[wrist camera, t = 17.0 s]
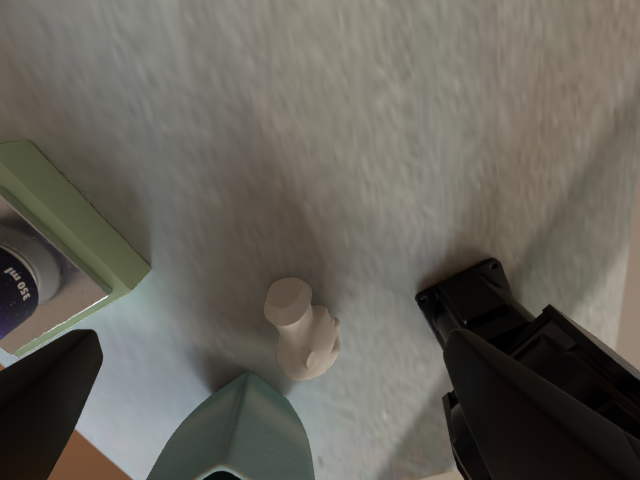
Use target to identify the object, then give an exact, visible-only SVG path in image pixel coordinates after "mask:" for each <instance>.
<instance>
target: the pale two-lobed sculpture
mask: <svg viewBox="0 0 640 480" xmlns="http://www.w3.org/2000/svg"><path fill="white" fill-rule="evenodd" d="M311 299H312V289H311V287H310V286H309V285H308V284H307V283H305V282H304V281H302V280H300V279H298V278H295V277H287V278H282V279H279V280H277V281H276V282H274V283H273V284H272V285H271V286H270V288H269V291H268V295H267V299H266V303H265V308H264V312H265V316H266V318H267V319H268V320H269V321H270V322H271V323H273V324H274V325H275V326H276V327H277V329H278V331H279V334H280V339H279V342H278V346H277V362H278V365H279V367H280V369H281V370H282V372H283V373H284V374H285V375H286V376H288V377H289V378H291V379H293V380H297V381H307V380H311V379H314V378H316V377H318V376H320V375H321V374H323V373H324V372H325V371H327V370H328V369H329V368H330V367H331V366H332V364H333V363H334V362H335V360H336V358H337V356H338V354H339V350H340V341H339V337H338V334H339V328H340V321H339V319H338V318H336V317H333V316H332V315H331V314H329V313H328V310H327V308H326V307H325V306H323V305H314V306H311V303H310V302H311Z"/></svg>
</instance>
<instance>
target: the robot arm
mask: <svg viewBox="0 0 640 480" xmlns="http://www.w3.org/2000/svg"><path fill="white" fill-rule="evenodd" d="M492 264H494V265H493V266H492V267H491V265H492ZM421 298H424V299H423V300H420V299H421ZM415 300H416V302H417V304H418V306H419V308H420V310H421V311H422V313H423V315H424V317H425V319H426V320H427V322H428V324H429V326H430V328H431V330H432V331H433V333H434V335H435V337H436V339H437V341H438V342H439V344H440V346H441V348H442V350H443V359H444V362H445V365H446V368H447V371H448V373H449V376H450V379H451V382H452V385H453V388H454V390H453V391H451V392H448V393H446V394H445V395H444V396H443V397H442V401H443V406H444V411H445V416H446V421H447V426H448V431H449V436H450V441H451V446H452V451H453V455H454V459H455V461H456V465H457V469H458V470H459V472H460V473H461V475H462V476H463V478H464V480H640V372H639V371H638V370H637V369H636V368H635V367H634V366H632V365H631V364H630V363H629V362H627V361H626V360H625V359H623V358H622V357H621V356H619V355H618V354H617V353H616V352H615V351H613V350H612V349H611V348H609V347H608V346H607V345H606V344H604V343H603V342H602V341H601V340H599V339H598V338H597V337H595V336H594V335H592V334H591V333H590V332H588V331H587V330H585V329H584V328H583V327H581V326H580V325H578V324H577V323H576V322H574V321H573V320H571V319H570V318H569V317H567V316H566V315H564V314H563V313H562V312H560V311H559V310H557V309H556V308H555V307H553V306H552V305H550V304H549V305H548V306H547V307H545V308H544V309H543V310H542V311H543V313H542V314H540V315H539V316H538V317H537V318H535V317H534V316H533V315H532V314H531V313H530V312H529V311H528V310H527V309H526V308H524V307H523V306H522V305H521V304H520V303H519V302H518V301H517V300H516V299H515V298H514V297H513V295H512V292H511V289H510V286H509V284H508V281H507V278H506V276H505V273H504V270H503V268H502V265H501V263H500V261H498V260H497V259H496V258H489V259H487V260H485V261H483V262H481V263H479V264H477V265H475V266H473V267H471V268H468V269H466V270H464V271H462V272H460V273H458V274H456V275H454V276H452V277H450V278H448V279H446V280H444V281H442V282H440V283H438V284H436V285H434V286H431V287H429V288H427V289H425V290H423V291H421V292H419V293H418V294H417V295H416V296H415ZM102 362H103V353H102V350H101V346H100V343H99V339H98V336H97V333H96V332H95V331H94V330H92V329H76V330H72V331H70V332H68V333H67V334H65V335H63V336H61V337H60V338H58V339H56V340H54V341H53V342H51V343H49V344H47V345H45V346H44V347H42V348H40V349H38V350H37V351H35V352H33V353H31V354H30V355H28V356H26V357H24V358H23V359H21V360H19V361H17V362H16V363H14V364H12V365H10V366H9V367H7V368H5V369H3V370H2V371H0V480H47V479H48V477H49V475H50V473H51V471H52V470H53V468H54V466H55V464H56V462H57V460H58V459H59V457H60V455H61V453H62V451H63V449H64V448H65V446H66V444H67V442H68V440H69V438H70V436H71V434H72V432H73V430H74V428H75V426H76V424H77V422H78V419H79V417H80V415H81V412H82V410H83V408H84V405H85V403H86V401H87V398H88V396H89V393H90V391H91V389H92V386H93V384H94V382H95V379H96V377H97V375H98V372H99V370H100V368H101V365H102Z"/></svg>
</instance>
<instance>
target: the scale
mask: <svg viewBox="0 0 640 480" xmlns="http://www.w3.org/2000/svg"><path fill="white" fill-rule="evenodd" d="M0 186H3V187H4V188H5V189H7V190H8V191H9V192H10V193H11V194H12V195H13V196H14V197H15V198H16V199H17V200H18V201H19V202H20V203H21V204H22V205H23V206H25V207H26V208H27V209H28V210H29V211H30V212H31V213H32V214H33V215H34V216H35V217H36V218H37V219H38V220H39V221H40V222H42V223H43V224H44V225H45V226H46V227H47V228H48V229H49V230H50V231H51V232H52V233H53V234H54V235H55V236H56V237H57V238H59V239H60V240H61V241H62V242H63V243H64V244H65V245H66V246H67V247H68V248H69V249H70V250H71V251H72V252H73V253H74V254H76V255H77V256H78V257H79V258H80V259H81V260H82V261H83V262H84V263H85V264H86V265H87V266H88V267H89V268H90V269H91V270H93V271H94V272H95V273H96V274H97V275H98V276H99V277H100V278H101V279H102V280H103V281H104V282H105V283H106V284H107V285H108V286H110V287H111V288H112V289H113V292H112V293H111V294H110V295H109V296H108V297H106V298H105V299H103V300H101V301H100V302H98V303H96V304H94V305H93V306H91V307H89V308H88V309H86V310H84V311H83V312H81V313H79V314H78V315H76V316H74V317H73V318H71V319H69V320H68V321H66V322H64V323H63V324H61V325H59V326H58V327H56V328H54V329H53V330H51V331H49V332H47V333H46V334H44V335H42V336H41V337H39V338H37V339H36V340H34V341H32V342H31V343H29V344H27V345H26V346H24V347H22V348H21V349H19V350H17V351H16V352H14V353H13V354H14V355H15V356H17V357H21V356H23V355H24V354H26V353H28V352H29V351H31V350H33V349H35V348H36V347H38V346H40V345H41V344H43V343H45V342H46V341H48V340H50V339H52V338H53V337H55V336H57V335H58V334H60V333H62V332H63V331H65V330H67V329H68V328H70V327H72V326H74V325H75V324H77V323H79V322H80V321H82V320H84V319H85V318H87V317H89V316H91V315H92V314H94V313H96V312H97V311H99V310H101V309H102V308H104V307H106V306H108V305H109V304H111V303H113V302H114V301H116V300H118V299H119V298H121V297H123V296H125V295H126V294H128V293H130V292H131V291H132V290H133V289H134V288H135V287H136V286H137V285H138V284H139V283H140V282H141V280H142V279H143V278H144V277H145V276H146V275H147V274H148V273H149V272H150V271H151V269H152V268H151V267H150V266H149V265H148V264H147V263H146V262H145V261H144V260H143V259H142V258H141V257H140V256H139V255H138V254H137V252H136V251H135V250H134V249H133V248H132V247H131V246H130V245H129V244H128V243H127V242H126V241H125V240H124V239H123V238H122V237H121V236H120V235H119V234H118V233H117V232H116V231H115V230H114V229H113V227H112V226H111V225H110V224H109V223H108V222H107V221H106V220H105V219H104V218H103V217H102V216H101V215H100V214H99V213H98V212H97V211H96V210H95V209H94V208H93V207H92V206H91V205H90V203H89V202H88V201H87V200H86V199H85V198H84V197H83V196H82V195H81V194H80V193H79V192H78V191H77V190H76V189H75V188H74V187H73V186H72V185H71V184H70V183H69V182H68V181H67V179H66V178H65V177H64V176H63V175H62V174H61V173H60V172H59V171H58V170H57V169H56V168H55V167H54V166H53V165H52V164H51V163H50V162H49V161H48V160H47V159H46V158H45V157H44V156H43V154H42V153H41V152H40V151H39V150H38V149H37V148H36V147H35V146H34V145H33V144H32V143H31V142H30V141H29V140H21V141H13V142H6V143H0Z"/></svg>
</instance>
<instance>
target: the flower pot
mask: <svg viewBox="0 0 640 480" xmlns="http://www.w3.org/2000/svg"><path fill="white" fill-rule="evenodd" d="M146 480H315V476H314V469H313V462H312V455H311V449H310V445H309V441H308V438H307V434H306V432H305V429H304V427H303V425H302V422H301V420H300V419H299V417H298V415H297V413H296V411H295V410H294V408H293V407H292V405H291V404H290V402H289V401H288V400H287V399H286V398H285V397H284V396H283V395H281V394H280V393H279V392H277V391H276V390H275V389H273V388H272V387H271V386H270V385H268V384H267V383H266V382H265V381H263V380H262V379H261V378H260V377H258V376H257V375H256V374H254V373H253V372H251V371H247V372H245V373H243V374H242V375H240V376H239V377H237V378H236V379H234V380H233V381H231V382H230V383H229V384H227V385H226V386H224V387H223V388H221V389H220V390H218V391H217V392H215V393H214V394H212V395H211V396H209V397H208V398H207V399H206V400H205V401H204V402H202V403H201V404H200V405H199V406H198V407H197V408H196V409H195V410H194V411H193V412H192V413H191V414H190V415H189V416H188V417H187V418H186V419H185V420H184V421H183V422H182V423H181V425H180V426H179V427H178V428H177V429H176V431H175V432H174V433H173V435H172V436H171V437H170V439H169V440H168V442H167V444H166V445H165V447H164V449H163V450H162V452H161V454H160V455H159V457H158V459H157V461H156V463H155V465H154V466H153V468H152V470H151V472H150V474H149V475H148V477H147V479H146Z"/></svg>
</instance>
